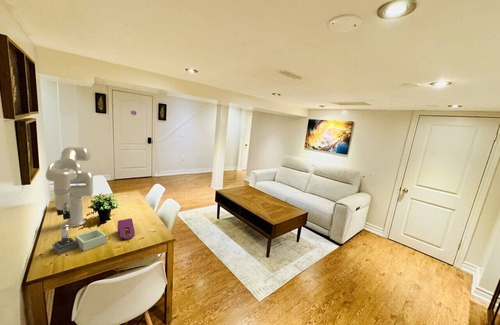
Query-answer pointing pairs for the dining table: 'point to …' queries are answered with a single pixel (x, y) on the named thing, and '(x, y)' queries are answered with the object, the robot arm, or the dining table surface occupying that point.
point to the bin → (91, 239)
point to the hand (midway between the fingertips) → (63, 216)
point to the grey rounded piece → (64, 234)
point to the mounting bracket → (126, 225)
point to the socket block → (64, 246)
